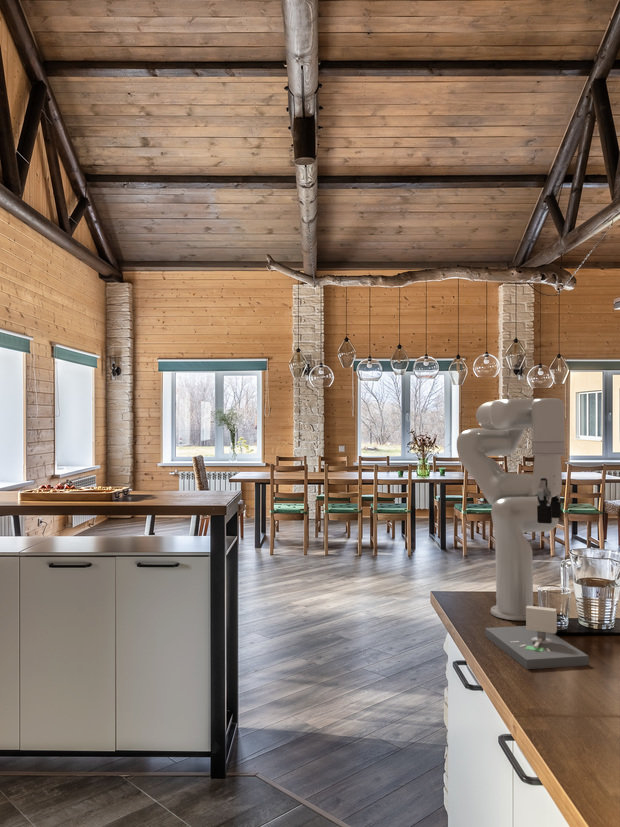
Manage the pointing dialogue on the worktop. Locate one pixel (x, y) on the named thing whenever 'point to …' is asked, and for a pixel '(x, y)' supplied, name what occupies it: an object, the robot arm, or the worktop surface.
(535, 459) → the robot arm
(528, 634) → the dial board
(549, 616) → the door lever handle
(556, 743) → the worktop surface
